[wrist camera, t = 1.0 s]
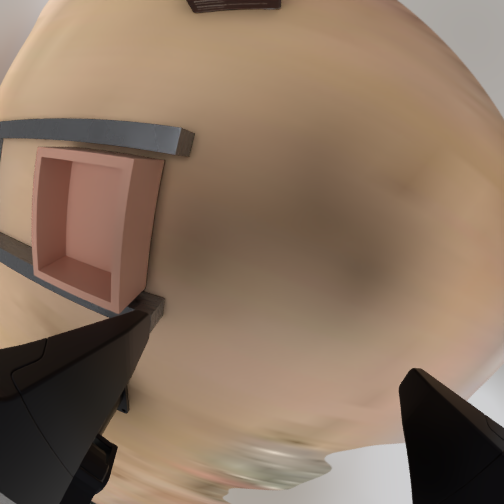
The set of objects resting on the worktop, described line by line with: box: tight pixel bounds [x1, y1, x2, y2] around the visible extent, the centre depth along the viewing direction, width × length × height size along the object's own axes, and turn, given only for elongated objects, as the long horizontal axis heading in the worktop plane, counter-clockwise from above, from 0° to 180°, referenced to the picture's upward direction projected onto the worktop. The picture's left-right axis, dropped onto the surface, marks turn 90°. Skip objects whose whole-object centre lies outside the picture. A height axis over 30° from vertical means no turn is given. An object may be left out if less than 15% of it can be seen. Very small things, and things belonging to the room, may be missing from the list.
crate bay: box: [0, 118, 195, 332], centre depth 16 cm, size 13×23×2 cm, turn 76°
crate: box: [32, 147, 165, 314], centre depth 15 cm, size 9×8×4 cm
